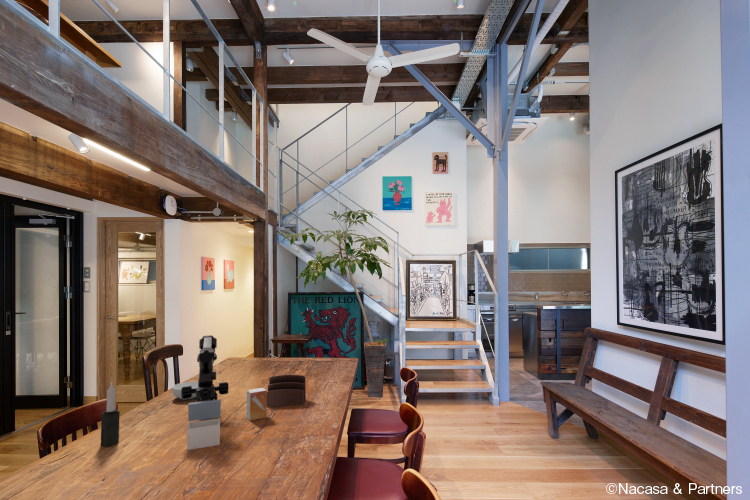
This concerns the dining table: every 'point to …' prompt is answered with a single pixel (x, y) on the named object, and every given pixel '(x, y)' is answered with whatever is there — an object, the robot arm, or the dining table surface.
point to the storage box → (203, 434)
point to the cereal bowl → (177, 388)
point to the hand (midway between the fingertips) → (204, 408)
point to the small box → (256, 403)
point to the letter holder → (286, 390)
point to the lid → (204, 410)
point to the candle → (110, 421)
